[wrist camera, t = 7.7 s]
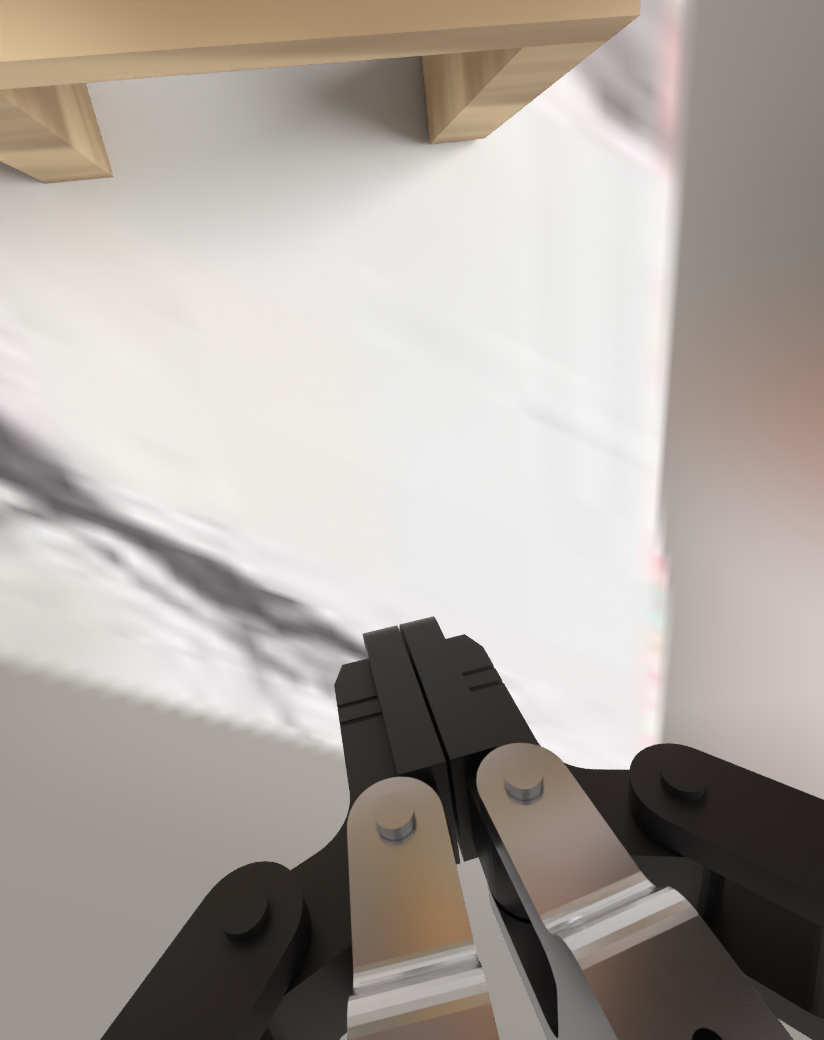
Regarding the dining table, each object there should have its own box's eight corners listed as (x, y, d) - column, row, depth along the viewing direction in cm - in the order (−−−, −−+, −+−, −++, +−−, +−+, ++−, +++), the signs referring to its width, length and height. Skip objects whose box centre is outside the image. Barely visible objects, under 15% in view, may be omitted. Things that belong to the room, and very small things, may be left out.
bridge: (6, 65, 16) (-297, -193, 8) (477, 30, 18) (646, -199, 10) (47, 184, 17) (-175, 74, 9) (484, 137, 19) (640, 14, 11)
